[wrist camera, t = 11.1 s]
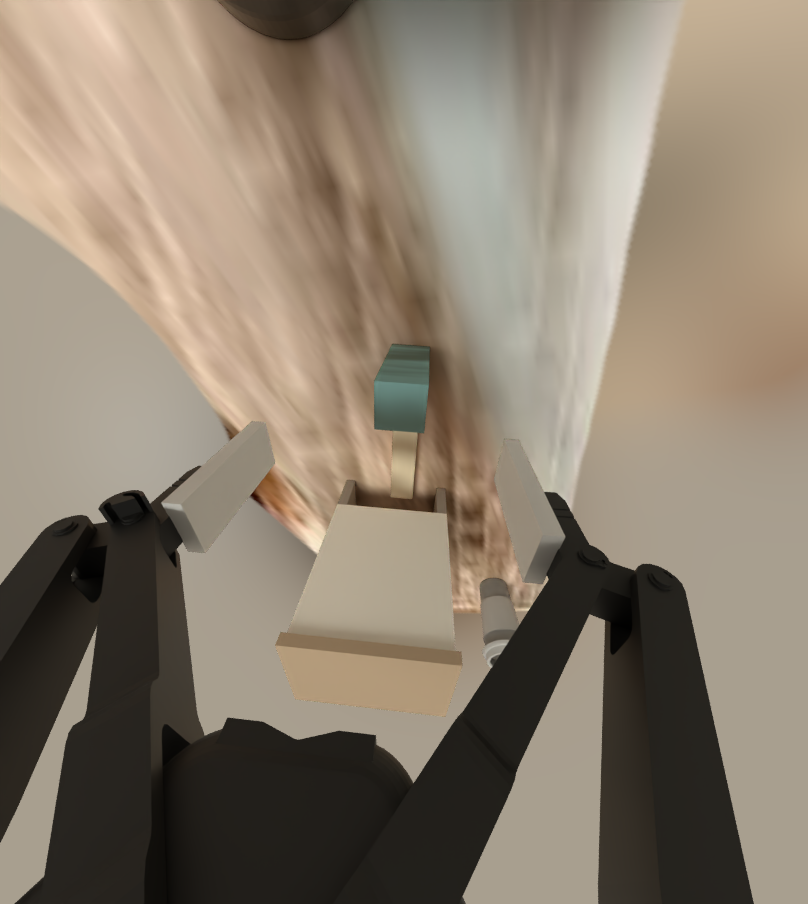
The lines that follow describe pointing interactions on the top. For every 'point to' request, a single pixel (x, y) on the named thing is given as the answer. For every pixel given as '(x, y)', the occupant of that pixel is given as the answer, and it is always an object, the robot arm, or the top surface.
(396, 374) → the teal mallet
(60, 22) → the top surface
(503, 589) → the cup
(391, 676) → the cupboard
